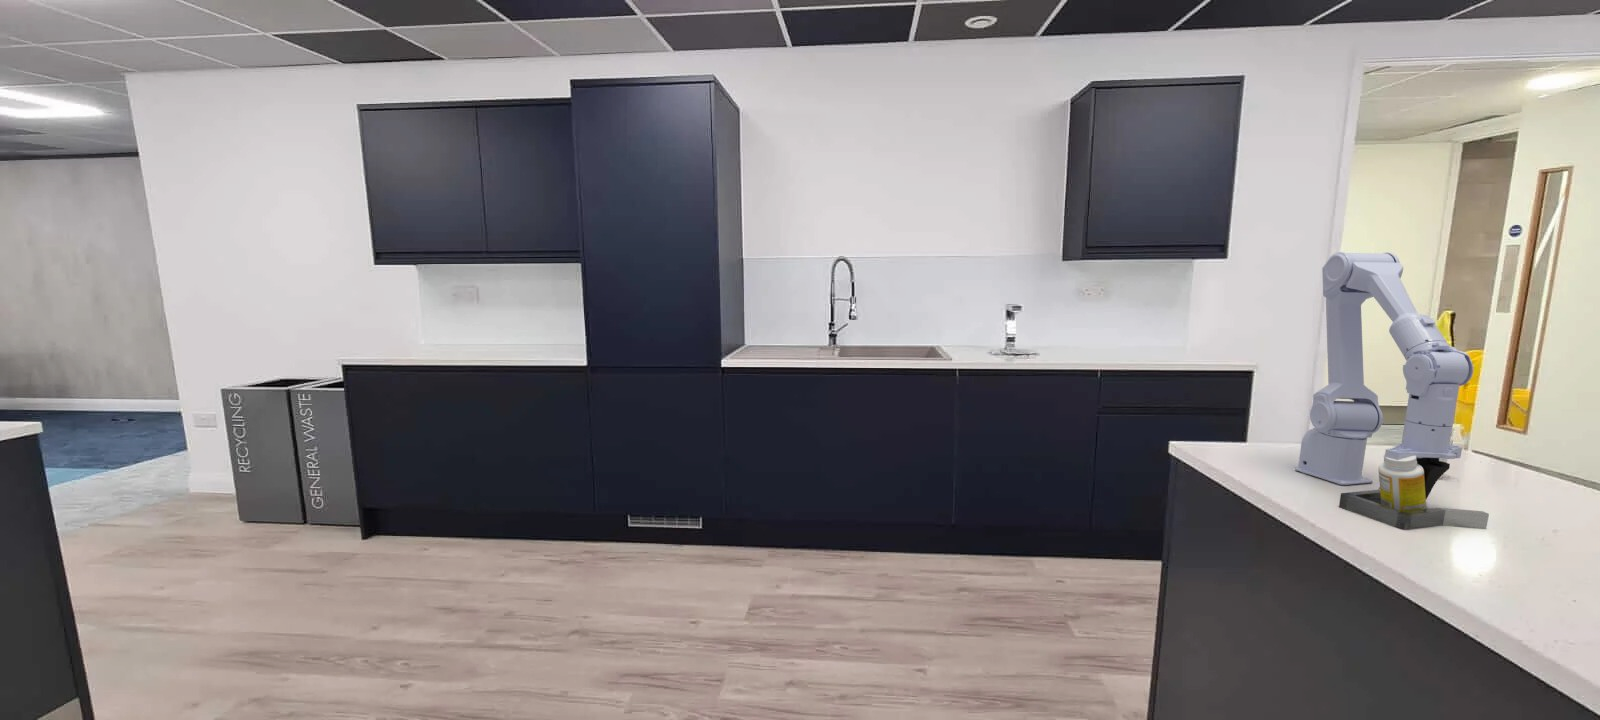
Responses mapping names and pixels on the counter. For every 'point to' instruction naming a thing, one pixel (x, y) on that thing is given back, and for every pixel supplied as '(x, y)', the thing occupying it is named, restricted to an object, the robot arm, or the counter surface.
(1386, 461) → the supplement bottle
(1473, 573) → the counter surface
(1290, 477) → the counter surface
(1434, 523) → the grey angular open frame
